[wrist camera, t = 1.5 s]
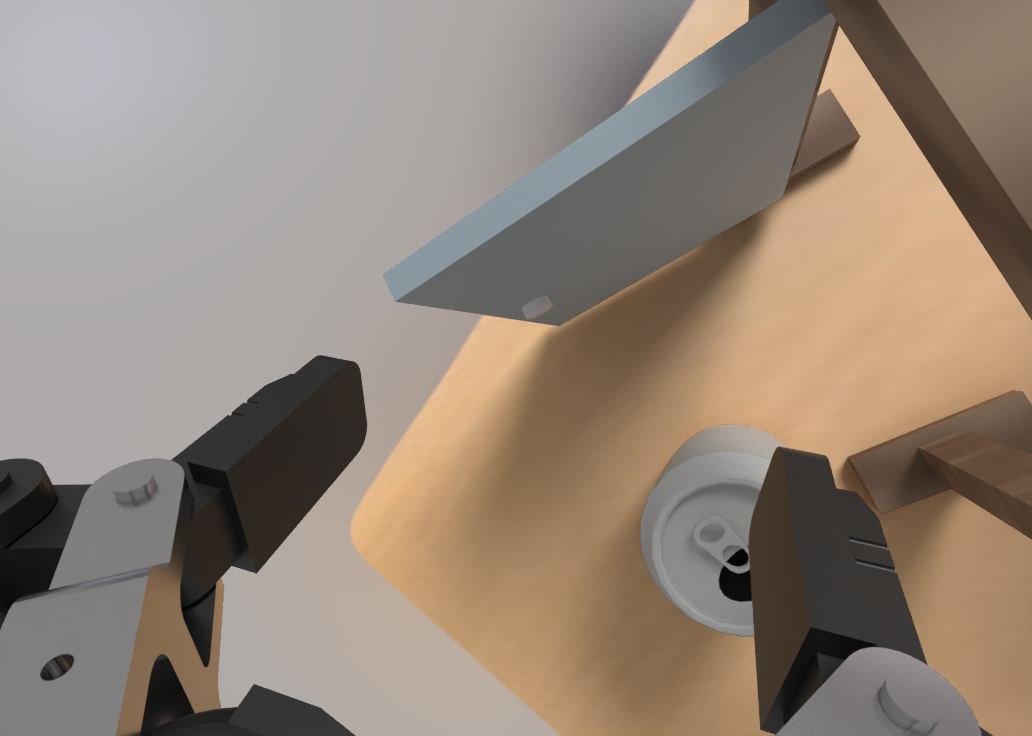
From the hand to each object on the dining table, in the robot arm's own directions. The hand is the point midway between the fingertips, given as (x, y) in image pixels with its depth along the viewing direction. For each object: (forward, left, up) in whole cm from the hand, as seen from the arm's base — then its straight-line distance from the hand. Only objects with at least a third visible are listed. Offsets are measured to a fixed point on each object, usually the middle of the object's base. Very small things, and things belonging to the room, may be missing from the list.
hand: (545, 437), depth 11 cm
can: (-6, +3, -25) cm, 26 cm away
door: (+4, -5, -23) cm, 24 cm away
